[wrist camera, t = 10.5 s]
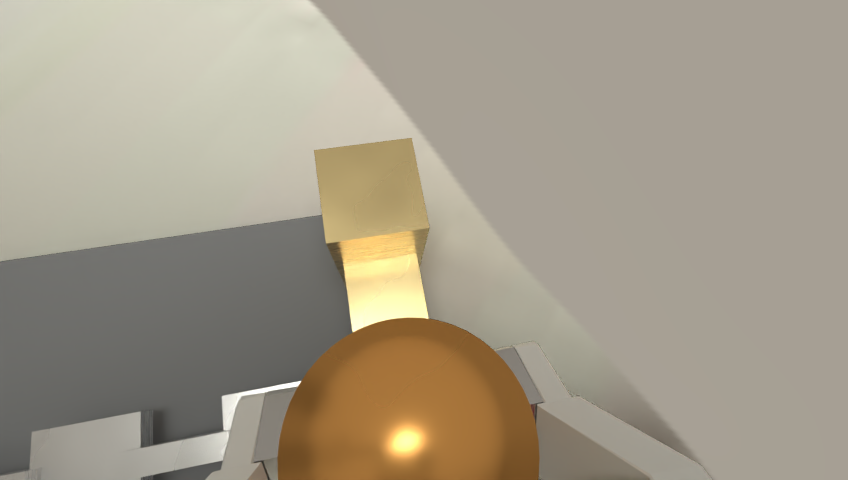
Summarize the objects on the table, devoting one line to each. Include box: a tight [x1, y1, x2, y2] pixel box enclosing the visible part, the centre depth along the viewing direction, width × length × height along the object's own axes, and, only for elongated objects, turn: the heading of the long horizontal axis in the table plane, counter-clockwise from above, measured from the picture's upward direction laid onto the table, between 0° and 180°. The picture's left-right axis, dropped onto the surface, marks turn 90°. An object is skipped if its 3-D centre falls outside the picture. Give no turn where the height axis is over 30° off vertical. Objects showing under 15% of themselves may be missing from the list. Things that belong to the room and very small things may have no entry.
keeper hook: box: [314, 138, 429, 332], centre depth 13 cm, size 2×4×6 cm, turn 11°
